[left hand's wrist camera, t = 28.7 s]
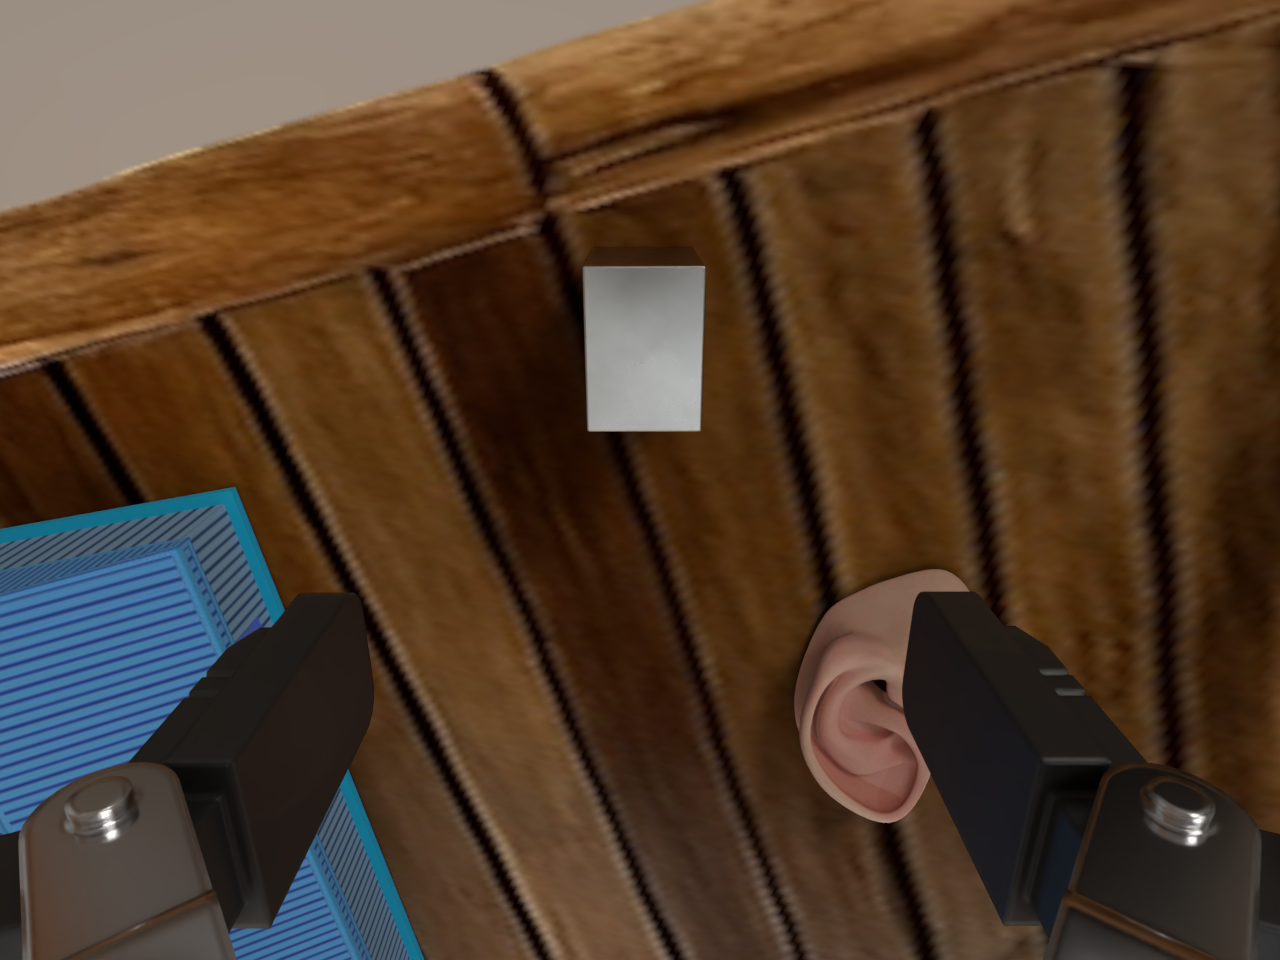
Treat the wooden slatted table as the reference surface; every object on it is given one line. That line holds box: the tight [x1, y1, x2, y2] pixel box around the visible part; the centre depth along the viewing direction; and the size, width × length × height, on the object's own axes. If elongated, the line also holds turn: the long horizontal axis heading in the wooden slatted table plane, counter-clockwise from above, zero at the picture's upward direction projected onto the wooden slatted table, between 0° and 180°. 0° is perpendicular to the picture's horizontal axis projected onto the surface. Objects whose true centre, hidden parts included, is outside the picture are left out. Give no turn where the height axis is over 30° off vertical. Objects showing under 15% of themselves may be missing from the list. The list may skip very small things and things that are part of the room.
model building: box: [0, 487, 424, 960], centre depth 44 cm, size 39×24×10 cm, turn 11°
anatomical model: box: [794, 569, 969, 823], centre depth 43 cm, size 13×4×12 cm
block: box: [582, 247, 706, 432], centre depth 34 cm, size 5×6×8 cm
